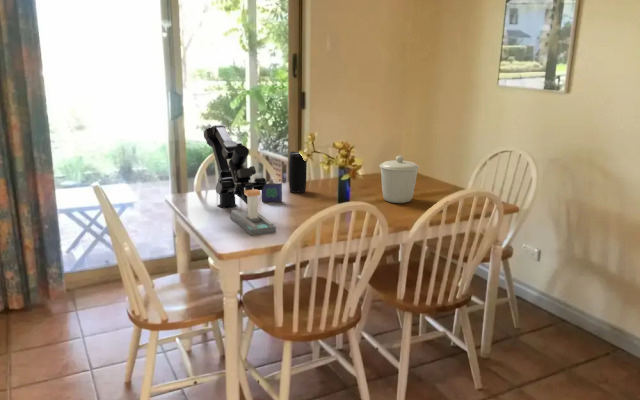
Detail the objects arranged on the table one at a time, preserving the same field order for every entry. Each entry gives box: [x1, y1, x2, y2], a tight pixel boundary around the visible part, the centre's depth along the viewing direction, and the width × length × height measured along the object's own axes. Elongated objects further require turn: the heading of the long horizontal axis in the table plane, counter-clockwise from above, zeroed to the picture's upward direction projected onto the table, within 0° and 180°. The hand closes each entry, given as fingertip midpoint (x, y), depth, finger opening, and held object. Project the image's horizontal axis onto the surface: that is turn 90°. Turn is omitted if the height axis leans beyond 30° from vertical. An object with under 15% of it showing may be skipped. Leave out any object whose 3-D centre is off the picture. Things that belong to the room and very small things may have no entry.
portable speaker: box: [288, 150, 308, 194], centre depth 262 cm, size 9×9×20 cm
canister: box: [379, 155, 420, 204], centre depth 248 cm, size 18×18×21 cm
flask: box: [261, 178, 283, 204], centre depth 245 cm, size 9×3×11 cm, turn 95°
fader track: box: [229, 208, 277, 236], centre depth 212 cm, size 24×10×3 cm, turn 28°
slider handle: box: [244, 188, 261, 222], centre depth 209 cm, size 5×5×12 cm
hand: (248, 203), depth 213 cm, fingers closed
